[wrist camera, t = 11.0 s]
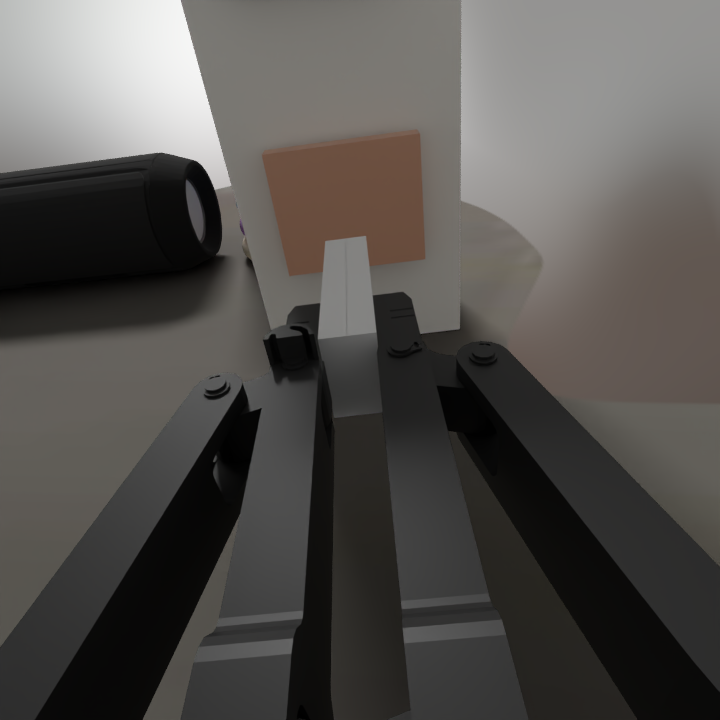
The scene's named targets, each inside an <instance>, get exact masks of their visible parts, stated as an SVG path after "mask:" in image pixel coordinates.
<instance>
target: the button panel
mask: <svg viewBox="0 0 720 720" xmlns="http://www.w3.org/2000/svg"><path fill="white" fill-rule="evenodd" d="M181 2H182V6H183V10H184V14H185V17H186V21H187V24H188V28H189V31H190V35H191V39H192V43H193V46H194V50H195V54H196V57H197V61H198V65H199V68H200V72H201V76H202V79H203V83H204V87H205V90H206V94H207V98H208V101H209V105H210V108H211V112H212V115H213V119H214V123H215V127H216V130H217V134H218V138H219V141H220V145H221V149H222V152H223V156H224V160H225V163H226V167H227V170H228V174H229V177H230V181H231V185H232V189H233V193H234V196H235V200H236V203H237V207H238V211H239V214H240V218H241V222H242V225H243V229H244V233H245V236H246V240H247V244H248V247H249V251H250V255H251V258H252V262H253V266H254V269H255V273H256V277H257V280H258V284H259V287H260V291H261V295H262V298H263V302H264V306H265V309H266V313H267V317H268V320H269V324H270V328H271V330H272V329H275V328H277V327H279V326H281V325H286V322H287V316H288V314H289V313H290V312H291V311H292V309H293V308H294V307H295V306H300V305H308V304H316V303H321V290H322V277H323V272H318V273H310V274H302V275H294V276H289V272H288V268H287V264H286V259H285V255H284V251H283V246H282V242H281V237H280V233H279V229H278V224H277V220H276V216H275V211H274V207H273V202H272V198H271V194H270V189H269V185H268V181H267V176H266V172H265V168H264V163H263V159H262V154H263V152H264V150H270V149H278V148H285V147H292V146H299V145H307V144H314V143H321V142H329V141H336V140H343V139H350V138H358V137H365V136H372V135H380V134H387V133H394V132H401V131H409V130H416V129H417V130H418V131H419V133H420V145H421V168H422V191H423V215H424V238H425V259H423V260H415V261H407V262H399V263H391V264H383V265H375V266H370V275H371V283H372V291H373V295H380V294H388V293H396V292H404V293H405V294H407V295H408V296H409V297H410V298H411V299H412V303H413V307H414V311H415V315H416V319H417V323H418V327H419V331H420V334H423V333H432V332H440V331H449V330H458V329H460V175H461V174H460V173H461V172H460V171H461V169H460V168H461V167H460V166H461V163H460V161H461V159H460V158H461V0H181Z"/></svg>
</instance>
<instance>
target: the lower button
mask: <svg viewBox="0 0 720 720" xmlns="http://www.w3.org/2000/svg"><path fill="white" fill-rule="evenodd" d="M262 159H263V163H264V168H265V172H266V176H267V181H268V185H269V189H270V194H271V198H272V202H273V207H274V211H275V216H276V220H277V224H278V229H279V233H280V237H281V242H282V246H283V251H284V255H285V259H286V264H287V268H288V272H289V276H294V275H302V274H310V273H318V272H323V264H324V252H325V241H330V240H338V239H345V238H353V237H361V236H366V241H367V249H368V258H369V266H375V265H383V264H391V263H399V262H407V261H415V260H423V259H425V238H424V215H423V191H422V168H421V145H420V133H419V131H418V130H417V129H416V130H409V131H401V132H394V133H387V134H380V135H372V136H365V137H358V138H350V139H343V140H336V141H329V142H321V143H314V144H307V145H299V146H292V147H285V148H278V149H270V150H264V152H263V154H262Z"/></svg>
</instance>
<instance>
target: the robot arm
mask: <svg viewBox="0 0 720 720" xmlns="http://www.w3.org/2000/svg"><path fill="white" fill-rule="evenodd" d="M263 341H264V345H265V348H266V352H267V355H268V359H269V362H270V370H269V373H267V374H265V375H264V376H261V377H259V378H256V379H253V380H250V381H247V382H244V383H242V380H241V377H239V376H238V375H236V374H233V373H218V374H215V375H212V376H209V377H207V378H205V379H204V380H202V381H200V382H199V383H198V384H197V385H196V386H195V387H194V388H193V390H192V391H191V392H190V394H189V395H188V396H187V398H186V399H185V400H184V402H183V403H182V404H181V406H180V407H179V408H178V410H177V411H176V412H175V414H174V415H173V416H172V418H171V419H170V420H169V422H168V423H167V424H166V426H165V427H164V428H163V430H162V431H161V432H160V434H159V435H158V437H157V438H156V439H155V441H154V442H153V443H152V445H151V446H150V447H149V449H148V450H147V451H146V453H145V454H144V455H143V457H142V458H141V459H140V461H139V462H138V463H137V465H136V466H135V467H134V469H133V470H132V471H131V473H130V474H129V475H128V477H127V478H126V479H125V481H124V482H123V483H122V485H121V486H120V487H119V489H118V490H117V492H116V493H115V494H114V496H113V497H112V498H111V500H110V501H109V502H108V504H107V505H106V506H105V508H104V509H103V510H102V512H101V513H100V514H99V516H98V517H97V518H96V520H95V521H94V522H93V524H92V525H91V526H90V528H89V529H88V530H87V532H86V533H85V534H84V536H83V537H82V538H81V540H80V541H79V542H78V544H77V545H76V547H75V548H74V549H73V551H72V552H71V553H70V555H69V556H68V557H67V559H66V560H65V561H64V563H63V564H62V565H61V567H60V568H59V569H58V571H57V572H56V573H55V575H54V576H53V577H52V579H51V580H50V581H49V583H48V584H47V585H46V587H45V588H44V589H43V591H42V592H41V593H40V595H39V596H38V598H37V599H36V600H35V602H34V603H33V604H32V606H31V607H30V608H29V610H28V611H27V612H26V614H25V615H24V616H23V618H22V619H21V620H20V622H19V623H18V624H17V626H16V627H15V628H14V630H13V631H12V632H11V634H10V635H9V636H8V638H7V639H6V640H5V642H4V643H3V644H2V646H1V647H0V720H143V717H144V715H145V713H146V711H147V709H148V707H149V705H150V703H151V701H152V698H153V696H154V694H155V692H156V690H157V688H158V686H159V684H160V682H161V679H162V677H163V675H164V673H165V671H166V669H167V667H168V665H169V663H170V660H171V658H172V656H173V654H174V652H175V650H176V648H177V646H178V644H179V641H180V639H181V637H182V635H183V633H184V631H185V629H186V627H187V625H188V622H189V620H190V618H191V616H192V614H193V612H194V610H195V608H196V606H197V603H198V601H199V599H200V597H201V595H202V593H203V591H204V589H205V587H206V584H207V582H208V580H209V578H210V576H211V574H212V572H213V570H214V568H215V565H216V563H217V561H218V559H219V557H220V555H221V553H222V551H223V549H224V546H225V544H226V542H227V540H228V538H229V536H230V534H231V532H232V530H233V527H234V525H235V523H236V521H237V519H238V517H239V515H240V517H239V522H238V527H237V532H236V537H235V542H234V547H233V552H232V557H231V562H230V566H229V571H228V576H227V581H226V586H225V591H224V596H223V601H222V606H221V611H220V615H219V620H218V623H217V627H216V629H215V630H214V632H213V633H211V634H209V635H208V636H206V637H204V638H203V640H202V642H201V644H200V645H199V647H198V650H197V653H196V657H195V660H194V663H193V667H192V672H191V676H190V681H189V685H188V689H187V694H186V698H185V702H184V707H183V711H182V715H181V720H334V718H333V709H332V701H331V620H332V556H333V493H334V426H333V422H332V410H333V415H334V418H339V417H348V416H357V415H366V414H375V413H383V422H384V432H385V443H386V453H387V463H388V473H389V484H390V494H391V504H392V514H393V525H394V535H395V545H396V555H397V566H398V576H399V586H400V596H401V607H402V624H403V636H404V647H405V657H406V668H407V678H408V688H409V699H410V709H411V710H409V711H407V712H404V713H402V714H399V715H397V716H395V717H392V718H390V719H387V720H529V719H528V715H527V712H526V708H525V704H524V700H523V696H522V693H521V689H520V685H519V681H518V677H517V674H516V670H515V666H514V662H513V659H512V655H511V651H510V647H509V643H508V640H507V636H506V632H505V629H504V626H503V622H502V619H501V617H500V614H499V612H498V610H497V609H495V608H494V607H493V605H492V603H491V600H490V596H489V593H488V589H487V585H486V581H485V577H484V573H483V569H482V565H481V561H480V557H479V553H478V549H477V545H476V541H475V537H474V533H473V529H472V525H471V521H470V517H469V513H468V509H467V505H466V501H465V497H464V493H463V489H462V485H461V481H460V477H459V473H458V469H457V465H456V461H455V457H454V454H453V450H452V446H451V442H450V438H449V434H448V431H455V432H457V435H458V438H459V440H460V441H461V443H462V445H463V446H464V448H465V449H466V451H467V452H468V454H469V456H470V457H471V459H472V460H473V462H474V463H475V465H476V466H477V468H478V470H479V471H480V473H481V474H482V476H483V477H484V479H485V481H486V482H487V484H488V485H489V487H490V488H491V490H492V492H493V493H494V495H495V496H496V498H497V499H498V501H499V503H500V504H501V506H502V507H503V509H504V510H505V512H506V514H507V515H508V517H509V518H510V520H511V521H512V523H513V525H514V526H515V528H516V529H517V531H518V532H519V534H520V536H521V537H522V539H523V540H524V542H525V543H526V545H527V547H528V548H529V550H530V551H531V553H532V554H533V556H534V558H535V559H536V561H537V562H538V564H539V565H540V567H541V569H542V570H543V572H544V573H545V575H546V576H547V578H548V580H549V581H550V583H551V584H552V586H553V587H554V589H555V590H556V592H557V594H558V595H559V597H560V598H561V600H562V601H563V603H564V605H565V606H566V608H567V609H568V611H569V612H570V614H571V616H572V617H573V619H574V620H575V622H576V623H577V625H578V627H579V628H580V630H581V631H582V633H583V634H584V636H585V638H586V639H587V641H588V642H589V644H590V645H591V647H592V649H593V650H594V652H595V653H596V655H597V656H598V658H599V660H600V661H601V663H602V664H603V666H604V667H605V669H606V671H607V672H608V674H609V675H610V677H611V678H612V680H613V682H614V683H615V685H616V686H617V688H618V689H619V691H620V693H621V694H622V696H623V697H624V699H625V700H626V702H627V703H628V705H629V707H630V708H631V710H632V711H633V713H634V714H635V716H636V718H637V719H638V720H720V567H719V566H718V565H717V564H716V563H715V562H714V561H713V560H712V558H711V557H710V556H709V555H708V554H707V553H706V552H705V551H704V550H703V549H702V548H701V547H700V546H699V545H698V544H697V543H696V542H695V541H694V540H693V539H692V538H691V537H690V536H689V535H688V534H687V533H686V532H685V531H684V530H683V529H682V528H681V527H680V526H679V525H678V524H677V523H676V522H675V521H674V520H673V519H672V518H671V517H670V516H669V515H668V513H667V512H666V511H665V510H664V509H663V508H662V507H661V506H660V505H659V504H658V503H657V502H656V501H655V500H654V499H653V498H652V497H651V496H650V495H649V494H648V493H647V492H646V491H645V490H644V489H643V488H642V487H641V486H640V485H639V484H638V483H637V482H636V481H635V480H634V479H633V478H632V477H631V476H630V475H629V474H628V473H627V472H626V471H625V470H624V468H623V467H622V466H621V465H620V464H619V463H618V462H617V461H616V460H615V459H614V458H613V457H612V456H611V455H610V454H609V453H608V452H607V451H606V450H605V449H604V448H603V447H602V446H601V445H600V444H599V443H598V442H597V441H596V440H595V439H594V438H593V437H592V436H591V435H590V434H589V433H588V432H587V431H586V430H585V429H584V428H583V427H582V426H581V424H580V423H579V422H578V421H577V420H576V419H575V418H574V417H573V416H572V415H571V414H570V413H569V412H568V411H567V410H566V409H565V408H564V407H563V406H562V405H561V404H560V403H559V402H558V401H557V400H556V399H555V398H554V397H553V396H552V395H551V394H550V393H549V392H548V391H547V390H546V389H545V388H544V387H543V386H542V385H541V384H540V383H539V382H538V381H537V379H535V377H534V376H533V375H531V373H530V372H529V371H528V370H527V369H526V368H525V367H524V366H523V365H522V364H521V363H520V362H519V361H518V360H517V359H516V358H515V357H514V356H513V355H512V354H511V353H510V352H509V351H508V350H507V349H506V348H504V347H503V346H501V345H499V344H496V343H492V342H483V341H480V342H473V343H470V344H467V345H465V346H463V347H462V348H461V349H460V350H459V351H458V352H457V356H451V355H443V354H438V353H435V352H433V351H431V350H429V349H427V347H426V345H425V343H424V342H423V341H422V339H421V335H420V331H419V327H418V323H417V319H416V315H415V311H414V307H413V303H412V299H411V298H410V297H409V296H408V295H407V294H405V293H404V292H396V293H388V294H380V295H373V291H372V283H371V275H370V266H369V258H368V249H367V241H366V236H361V237H353V238H345V239H338V240H330V241H325V252H324V264H323V277H322V290H321V303H316V304H308V305H300V306H295V307H294V308H293V309H292V311H291V312H290V313H289V314H288V316H287V322H286V325H281V326H279V327H277V328H275V329H272V330H271V331H270V332H269V333H267V334H266V336H265V337H264V339H263Z"/></svg>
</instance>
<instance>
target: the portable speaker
mask: <svg viewBox="0 0 720 720" xmlns="http://www.w3.org/2000/svg"><path fill="white" fill-rule="evenodd" d="M221 241H222V223H221V213H220V208H219V204H218V200H217V196H216V193H215V190H214V187H213V185H212V182H211V180H210V178H209V176H208V174H207V172H206V171H205V169H204V168H203V167H202V165H200V164H199V163H198V162H197V161H194V160H190V159H186V158H182V157H178V156H174V155H170V154H165V153H154V154H146V155H138V156H131V157H122V158H115V159H107V160H99V161H92V162H84V163H76V164H69V165H61V166H53V167H46V168H39V169H30V170H23V171H15V172H7V173H0V290H5V289H14V288H24V287H33V286H43V285H52V284H61V283H70V282H80V281H89V280H98V279H107V278H117V277H126V276H135V275H144V274H153V273H162V272H170V271H179V270H186V269H191V268H193V267H194V266H196V265H198V264H200V263H202V262H204V261H206V260H207V259H209V258H211V257H213V256H215V255H216V254H217V253H218V251H219V249H220V246H221Z"/></svg>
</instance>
